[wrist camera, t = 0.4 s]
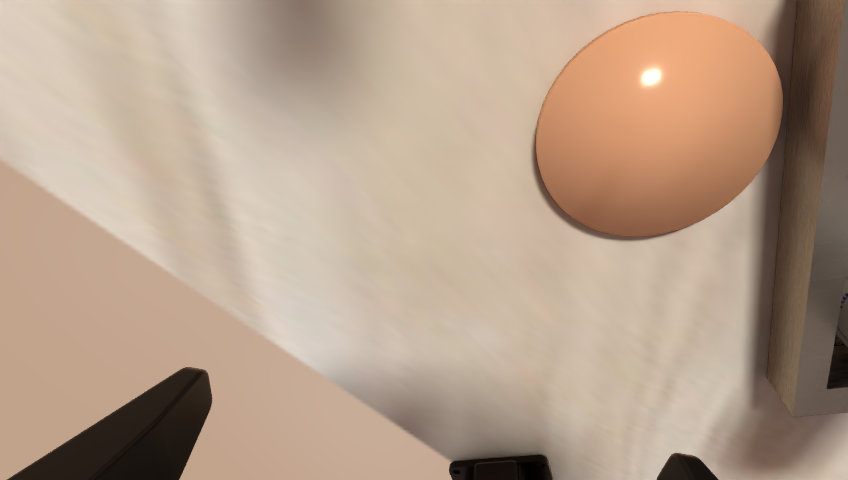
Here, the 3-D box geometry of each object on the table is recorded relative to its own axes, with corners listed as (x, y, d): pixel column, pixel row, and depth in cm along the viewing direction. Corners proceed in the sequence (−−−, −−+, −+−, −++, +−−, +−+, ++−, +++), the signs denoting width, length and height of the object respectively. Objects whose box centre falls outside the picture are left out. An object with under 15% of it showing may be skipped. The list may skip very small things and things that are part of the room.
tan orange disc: (767, 207, 20) (774, 214, 20) (553, 246, 23) (554, 252, 22) (783, -24, 16) (792, -23, 16) (517, 51, 18) (517, 54, 18)
